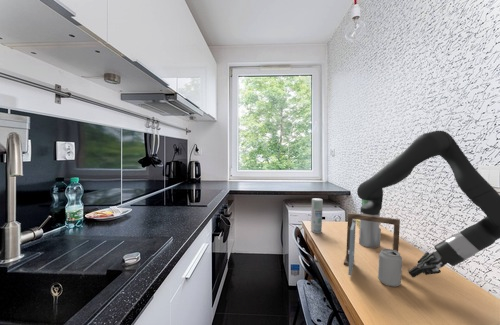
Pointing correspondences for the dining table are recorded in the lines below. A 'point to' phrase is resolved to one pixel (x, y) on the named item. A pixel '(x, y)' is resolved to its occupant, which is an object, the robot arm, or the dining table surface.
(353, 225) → the door
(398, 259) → the can
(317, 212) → the spray can
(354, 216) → the door frame
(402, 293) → the dining table surface
